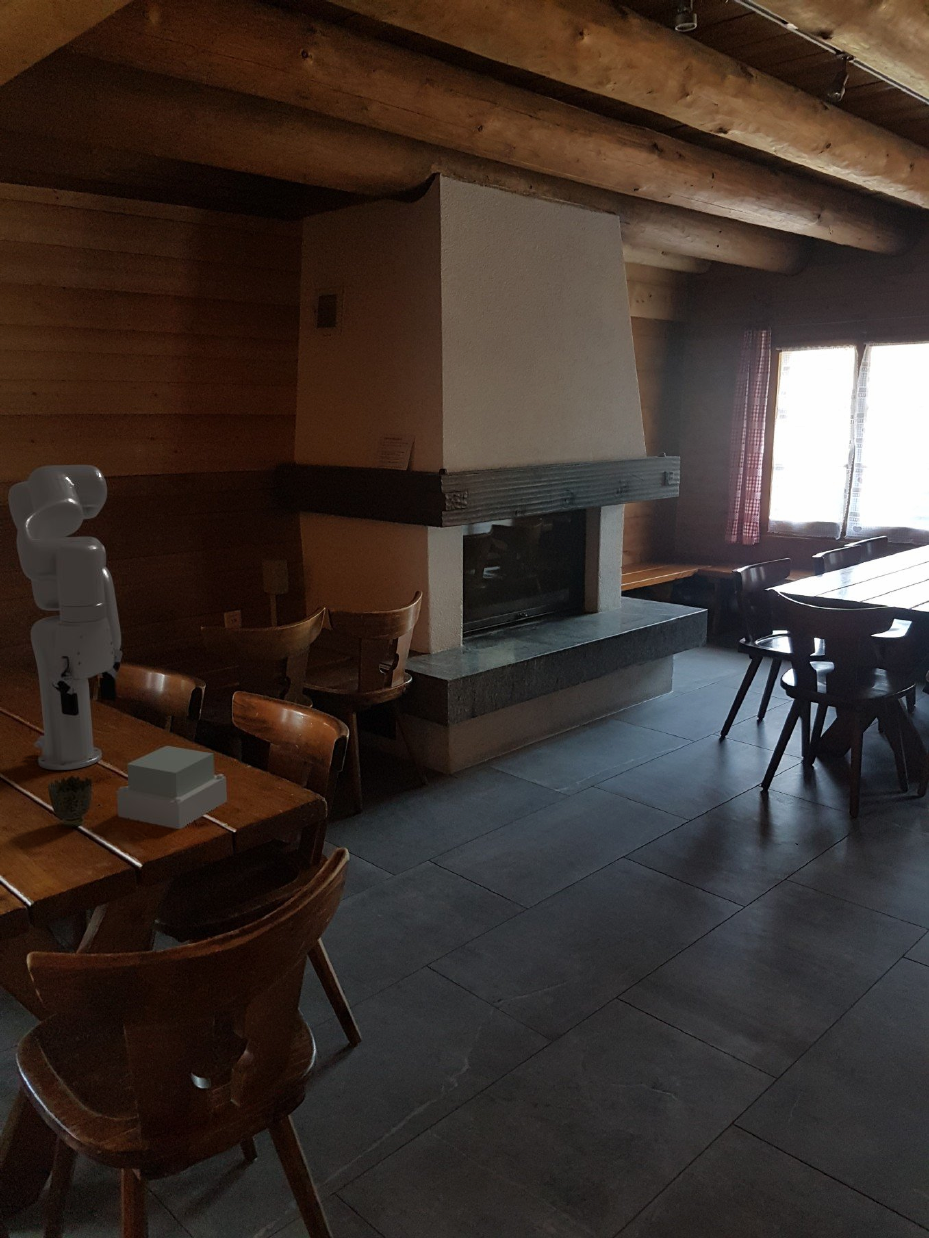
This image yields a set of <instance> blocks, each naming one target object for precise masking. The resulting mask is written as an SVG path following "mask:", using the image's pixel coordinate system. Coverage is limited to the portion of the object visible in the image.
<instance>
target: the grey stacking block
mask: <svg viewBox="0 0 929 1238" xmlns="http://www.w3.org/2000/svg"><path fill="white" fill-rule="evenodd" d="M214 759H215V758H214V753H212V752H207V751H206V752H205V751H201V750H195V749H189V748H182V747H176V746H170V745H165V746H163V747H161V748H159V749H156V750H154V751H152V752H150V753H147V754H146V755H143V756H142V757H139V758H137V759H135V760H132V761H131V762H129V763H127V764H126V769H127V783H128V785H127V786H120V787H119V788H118V790H116V802H117V803H116V804H117V815H118V817H120V818H123V819H128V818H129V819H128V820H132V821H137V820H139V821H138V822H141V823H142V822H143V823H147V822H148V824H152V825H156V824H157V825H158V826H162V827H167V828H172V829H175V830H176V829H177V830H181V829H183V828H184V827H186V826H188V825H190V824H191V823H193V822H194V820H195V821H197V820H198V819H200V818H201V817H204V816H205V815H206V813H207V814H208V813H210V812H212V811H213V810H215V809H217V808H218V807H220V806H222V805H224V804H225V803H226V802H228V795H227V777H226V776H224V774H222V773H218V774H217V775H216V774H215V763H214V762H215V761H214ZM216 807H217V808H216ZM211 810H212V811H211ZM209 811H210V812H209ZM204 814H205V815H204ZM189 823H190V824H189ZM187 824H188V825H187Z"/></svg>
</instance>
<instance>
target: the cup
mask: <svg viewBox="0 0 929 1238" xmlns="http://www.w3.org/2000/svg"><path fill="white" fill-rule="evenodd" d="M92 780H93V779H92V778H89V777H88V776H87V777H85V778H84V780H83V779H82V780H81V779H80V776H77V777H75V776H73V775H70V776H68V778H67V779H65V777H62V778H61V780H60V781H59V780H58V779H55V781H51V782H50V784H49V783H48V785H47V790H48V794H49V799H50V804H51V808H52V810H53V812H54V814H55V816H56V817H57V818H59V819H62V820H61V823H62V825H63V826H65V827H67V828H75V827H78V826H79V827H80V825H83V823H84V821H85V818H84V816H85V815H86V814H87V813H88V812H89V810H90V808H91V804H92V795H93V794H92V793H93V791H92V790H93V789H92V788H93V781H92Z"/></svg>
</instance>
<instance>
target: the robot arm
mask: <svg viewBox="0 0 929 1238" xmlns="http://www.w3.org/2000/svg"><path fill="white" fill-rule="evenodd" d="M7 496H8V497H7V498H8V499H7V500H8V506H9V507H8V508H9V510H10V515H11V517H12V521H13V523H14V525H15V527H16V529H17V534H16V550H17V553H18V558H19V562H20V566H21V569H22V572H23V573H24V576H26V577H27V578H28V579H30V582H31V590H32V594H33V598H34V599H33V600H34V602H35V604H36V606H37V607H38V608H39V609H40V610H44V611H59V615H52V616H47V617H43V618H40V619H39V620H37V621H36V622H34V624H33V625H32V627H31V629H30V640H31V641H30V642H31V645H32V649H33V654H34V657H35V662H36V667H37V673H38V674H37V675H38V680H39V691H40V700H41V701H40V702H41V712H42V725H43V735H40V736H38V739H37V741H35V742H34V744H33V745H34V746H33V747H34V748H36V749H41V751H42V754H41V755H40V756H39V757H38V759H37V760H38V761H37V762H38V765H39V766H40V767H41V768H43V769H46V770H51V771H52V770H53V771H68V770H75V769H76V770H77V769H80V768H84V767H85V768H86V767H88V766H90V765H91V766H92V765H94V764H95V763H97V762H99V761H100V760H101V758H102V755H103V754H102V750H101V749H100V748H98V747H95V746H94V738H93V725H92V712H91V702H90V701H91V700H90V686H89V679H90V678H93V677H96V676H98V675H100V676H101V677H99V693H100V699H101V700H104V701H105V700H106V701H110V702H111V701H112V702H114V701H115V702H116V701H117V699H118V698H117V696H118V695H117V683H116V682H117V681H116V680H117V678H118V676H119V674H118V671H119V670H120V668H121V661H122V657H123V651H122V650H120V649H121V646H122V632H121V627H120V626H121V625H120V621H119V620H120V619H119V612H118V607H117V606H118V605H117V600H116V594H115V593H116V592H115V585H114V581H113V578H112V574H111V572H110V570H109V569H108V567H106V565H107V553H106V547H105V546H104V545H103V544H102V542H101V541H100V540H99V539H98V538H96V537H93V536H70V535H72V534H74V533H75V532H77V531H78V530H79V529H80V527H81V526H82V523H83V521H84V520H88V519H89V520H90V519H93V518H96V517H97V515H98V514H99V513H100V511H101V510H102V509H103V507H104V505H105V503H106V501H107V497H108V486H107V482H106V479H105V476H104V475H103V472H102V471H101V470H100V469H99V468H98V467H96V466H94V465H91V464H68V465H67V464H65V465H64V464H63V465H62V464H59V465H57V464H56V465H54V464H53V465H44V466H40V467H38V468H36V469H35V470H33V471H32V472H31V473H30V474H29V477H28V478H27V480H25V481H20V482H17V483H15V484H13V485H12V486H11V487H9V491H8V494H7Z"/></svg>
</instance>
